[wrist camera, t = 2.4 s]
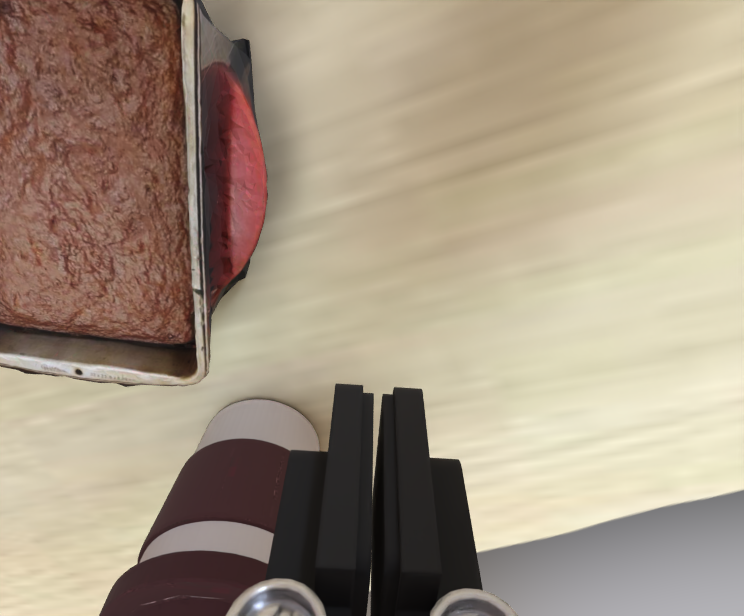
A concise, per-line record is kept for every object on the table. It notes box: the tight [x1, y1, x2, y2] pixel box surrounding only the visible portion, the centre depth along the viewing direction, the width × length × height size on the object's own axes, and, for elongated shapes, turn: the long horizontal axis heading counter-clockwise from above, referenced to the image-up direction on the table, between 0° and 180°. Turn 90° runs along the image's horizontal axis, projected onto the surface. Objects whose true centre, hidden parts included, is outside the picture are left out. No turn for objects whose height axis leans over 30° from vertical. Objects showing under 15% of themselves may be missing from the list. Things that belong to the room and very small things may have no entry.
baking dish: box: [0, 0, 268, 387], centre depth 24 cm, size 14×18×10 cm
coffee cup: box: [99, 399, 320, 616], centre depth 30 cm, size 10×10×15 cm
